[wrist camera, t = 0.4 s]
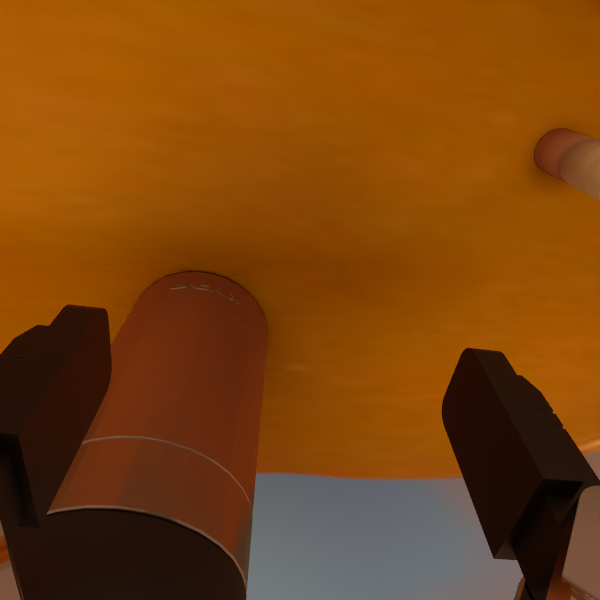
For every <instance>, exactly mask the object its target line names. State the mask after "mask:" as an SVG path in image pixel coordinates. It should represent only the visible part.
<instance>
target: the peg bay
mask: <svg viewBox="0 0 600 600" xmlns="http://www.w3.org/2000/svg"><path fill="white" fill-rule="evenodd" d="M534 159H535V162H536V164H537V166H538V167H539V168H540V169H542V170H543V171H545V172H547V173H549V174H551V175H553V176H555V177H556V178H558V179H560V180H562V181H564V182H566V183H568V184H570V185H571V186H573V187H575V188H577V189H579V190H581V191H583V192H585V193H586V194H588V195H590V196H592V197H594V198H596V199H598V200H600V140H598V139H595V138H592V137H589V136H586V135H583V134H580V133H577V132H574V131H571V130H568V129H564V128H559V129H555V130H552V131H550V132H548V133H547V134H545V135H544V136H543V137H542V138H541V139H540V141H539V142H538V144H537V146H536V148H535V153H534Z"/></svg>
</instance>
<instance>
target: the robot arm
mask: <svg viewBox="0 0 600 600" xmlns="http://www.w3.org/2000/svg"><path fill="white" fill-rule="evenodd" d="M266 345H267V326H266V322H265V317H264V315H263V313H262V311H261V309H260V307H259V305H258V304H257V303H256V301H255V300H254V299H253V298H252V296H251V295H250V294H249V293H247V292H246V291H245V290H244V289H243V288H241V287H240V286H239V285H237V284H235V283H233V282H232V281H230V280H228V279H226V278H223V277H220V276H217V275H214V274H210V273H202V272H183V273H177V274H174V275H170V276H166V277H164V278H162V279H160V280H158V281H157V282H155V283H153V284H152V285H151V286H150V287H148V288H147V289H146V290H145V291H144V292H143V293H142V295H141V296H140V298H139V299H138V301H137V302H136V304H135V305H134V307H133V309H132V311H131V312H130V314H129V316H128V317H127V319H126V321H125V323H124V324H123V326H122V328H121V329H120V331H119V332H118V334H117V336H116V337H115V339H114V341H113V343H112V344H111V346H110V334H109V321H108V314H107V311H106V309H104V308H95V307H86V306H77V305H66V306H65V307H64V308H63V309H62V310H61V312H60V313H59V314H58V315H57V317H56V318H55V319H54V320H53V322H52V323H51V324H50V326H43V325H36V326H35V327H33V328H31V329H30V330H28V331H26V332H24V333H23V334H21V335H19V336H18V337H16V338H14V339H13V341H12V342H11V343H10V344H9V345H8V346H7V347H6V349H5V350H4V351H3V352H2V353H1V354H0V600H246V590H247V580H248V567H249V555H250V542H251V531H252V530H251V529H252V513H253V502H254V489H255V477H256V465H257V453H258V441H259V429H260V416H261V404H262V392H263V380H264V370H265V358H266ZM442 420H443V424H444V427H445V430H446V432H447V435H448V438H449V440H450V443H451V446H452V448H453V451H454V454H455V456H456V459H457V462H458V464H459V467H460V470H461V472H462V475H463V478H464V480H465V483H466V486H467V488H468V491H469V494H470V496H471V499H472V502H473V505H474V507H475V510H476V513H477V515H478V518H479V521H480V523H481V526H482V529H483V531H484V534H485V536H486V539H487V542H488V545H489V547H490V550H491V553H492V555H493V558H494V559H508V560H517V561H518V563H519V566H520V568H521V570H522V573H523V575H524V576H523V577H522V579H521V580H520V582H519V585H518V588H517V591H516V594H515V597H514V600H600V480H599V479H598V477H597V476H596V475H595V473H594V471H593V470H592V468H591V467H590V466H589V464H588V462H587V461H586V459H585V458H584V456H583V455H582V453H581V452H580V450H579V449H578V447H577V446H576V444H575V443H574V441H573V440H572V438H571V437H570V435H569V434H568V432H567V431H566V429H563V425H562V423H561V422H560V420H559V419H558V417H557V416H556V414H553V410H552V408H551V407H550V405H549V404H548V402H547V401H546V399H545V398H544V396H543V395H542V393H541V392H540V391H539V390H538V389H537V388H536V387H534V386H533V385H532V384H531V383H530V382H529V381H527V380H526V379H525V378H524V377H523V376H521V375H517V374H516V373H515V371H514V369H513V368H512V366H511V365H510V363H509V362H508V360H507V358H506V357H505V355H504V354H503V353H502V352H500V351H491V350H482V349H473V348H467V349H465V350H464V351H463V352H462V354H461V356H460V359H459V361H458V364H457V366H456V368H455V371H454V373H453V376H452V378H451V381H450V383H449V386H448V388H447V391H446V393H445V396H444V399H443V404H442Z"/></svg>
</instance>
